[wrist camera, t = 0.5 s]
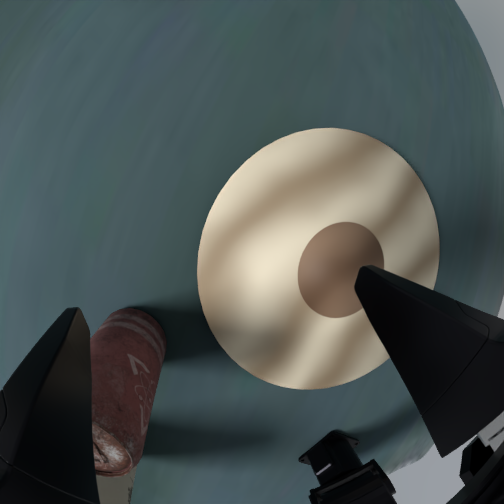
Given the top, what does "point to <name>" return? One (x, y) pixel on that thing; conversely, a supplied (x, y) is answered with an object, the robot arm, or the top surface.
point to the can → (124, 387)
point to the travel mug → (116, 488)
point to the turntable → (311, 254)
